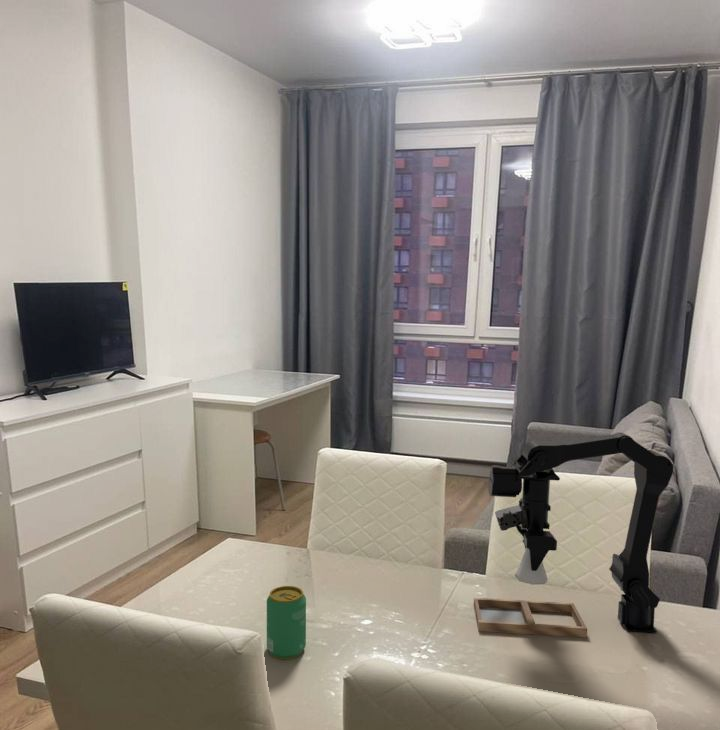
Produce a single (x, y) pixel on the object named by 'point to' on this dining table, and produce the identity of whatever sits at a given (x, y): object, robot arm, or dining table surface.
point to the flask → (530, 571)
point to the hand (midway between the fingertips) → (531, 565)
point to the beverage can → (286, 622)
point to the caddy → (524, 617)
